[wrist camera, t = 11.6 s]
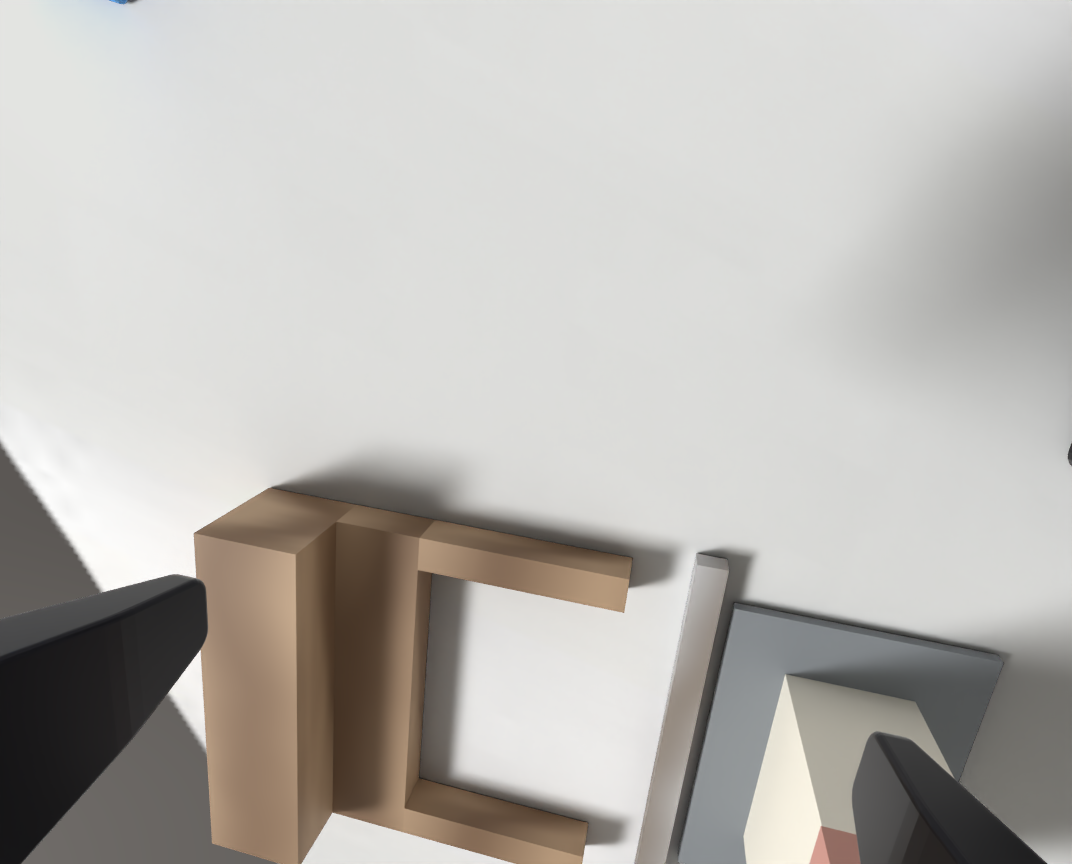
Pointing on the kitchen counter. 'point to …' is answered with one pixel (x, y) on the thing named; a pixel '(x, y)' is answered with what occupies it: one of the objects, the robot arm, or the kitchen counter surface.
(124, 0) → the ink box
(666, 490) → the kitchen counter surface
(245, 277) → the kitchen counter surface
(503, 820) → the cradle
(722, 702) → the mat
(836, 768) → the block
